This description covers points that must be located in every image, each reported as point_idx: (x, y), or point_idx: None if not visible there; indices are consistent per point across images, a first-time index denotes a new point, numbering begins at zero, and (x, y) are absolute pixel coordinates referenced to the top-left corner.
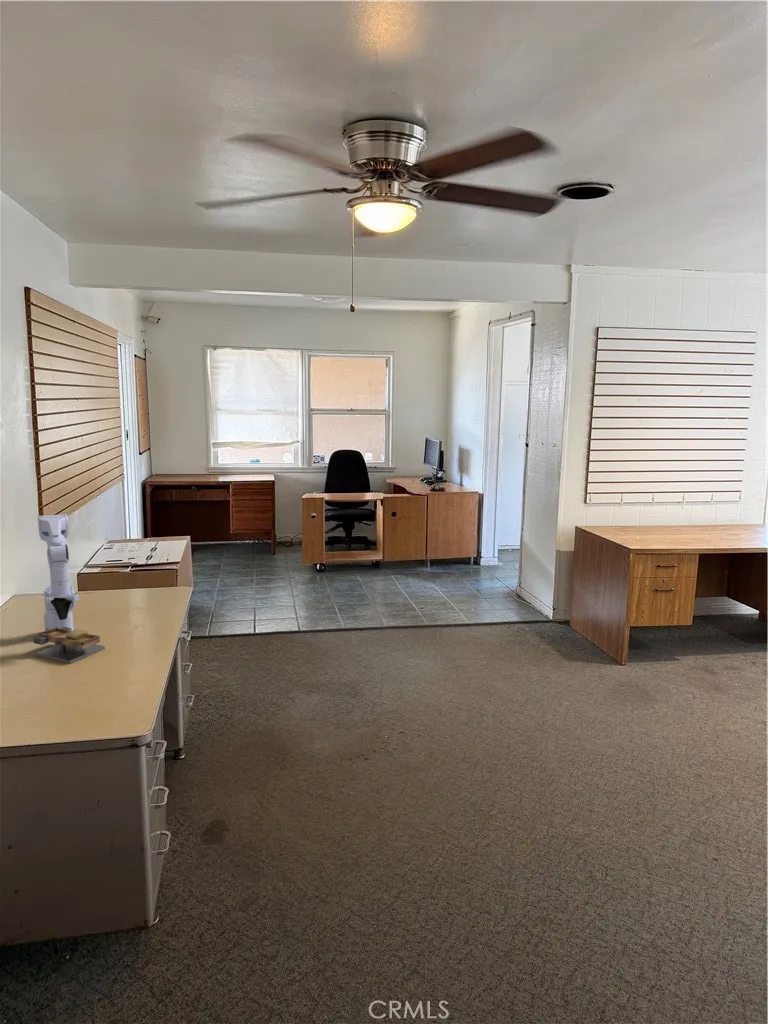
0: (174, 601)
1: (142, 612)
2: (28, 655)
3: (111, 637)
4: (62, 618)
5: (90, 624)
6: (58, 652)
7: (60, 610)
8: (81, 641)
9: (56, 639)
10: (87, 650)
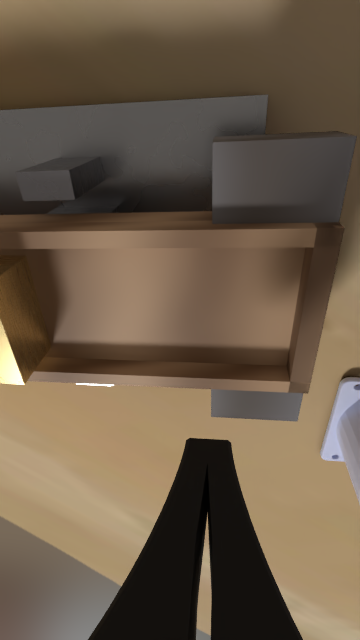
0: None
1: None
2: (338, 77)
3: (128, 446)
4: (184, 455)
5: (341, 509)
6: (57, 160)
7: (152, 558)
8: None
9: (95, 223)
10: None
